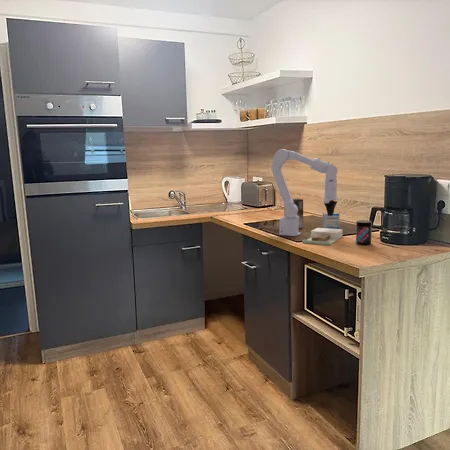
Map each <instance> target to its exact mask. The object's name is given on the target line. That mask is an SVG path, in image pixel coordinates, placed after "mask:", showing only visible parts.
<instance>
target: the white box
mask: <svg viewBox="0 0 450 450" xmlns="http://www.w3.org/2000/svg"><path fill="white" fill-rule="evenodd" d="M317 234H326V235H330V239H337V241H338V240H339V239H341V238H342V237H343V229H341V228H339V229H328V228H323V227H316V228H314V229H312V230H310V238H311V237H313V236H315V235H317Z"/></svg>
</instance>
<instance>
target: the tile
mask: <svg viewBox="0 0 450 450" xmlns="http://www.w3.org/2000/svg"><path fill="white" fill-rule="evenodd" d="M329 239H330V235H326V234H317V235H315V236H313V237H312V241H324V242H326V241H327V240H329Z"/></svg>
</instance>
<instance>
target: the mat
mask: <svg viewBox="0 0 450 450" xmlns="http://www.w3.org/2000/svg"><path fill="white" fill-rule="evenodd" d="M337 241H338V240H337V239H329V240H327V241H326V242H324V241H312V237H311V236H310V237H309V238H307V239H302V242H301V243H302V244H307V245H318V246H319V245H320V246H332V245H333V244H334V243H336V242H337Z"/></svg>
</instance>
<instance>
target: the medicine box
mask: <svg viewBox="0 0 450 450" xmlns="http://www.w3.org/2000/svg"><path fill="white" fill-rule="evenodd" d="M322 228H328V229H340V213H339V212H334V213H333V216H328V214H327V212H324V213H322Z"/></svg>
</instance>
